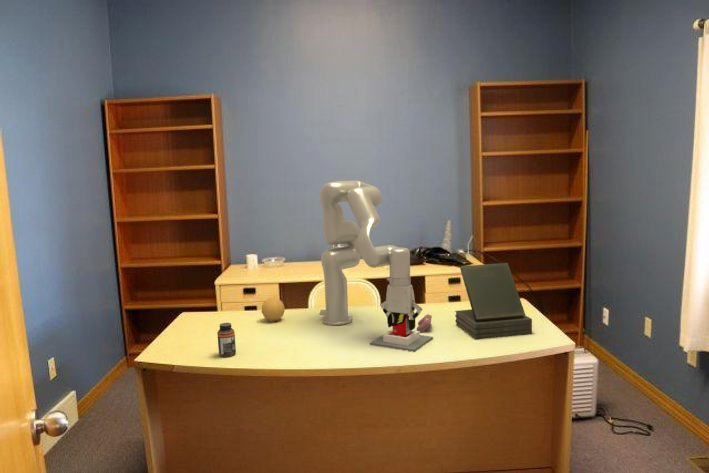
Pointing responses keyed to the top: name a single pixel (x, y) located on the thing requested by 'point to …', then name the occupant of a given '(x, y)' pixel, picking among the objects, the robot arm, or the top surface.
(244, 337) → the top surface
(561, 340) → the top surface
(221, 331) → the supplement bottle
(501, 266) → the dark grey slab stack
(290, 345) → the top surface
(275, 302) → the stress ball
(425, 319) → the video game controller
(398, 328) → the beverage can
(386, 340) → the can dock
